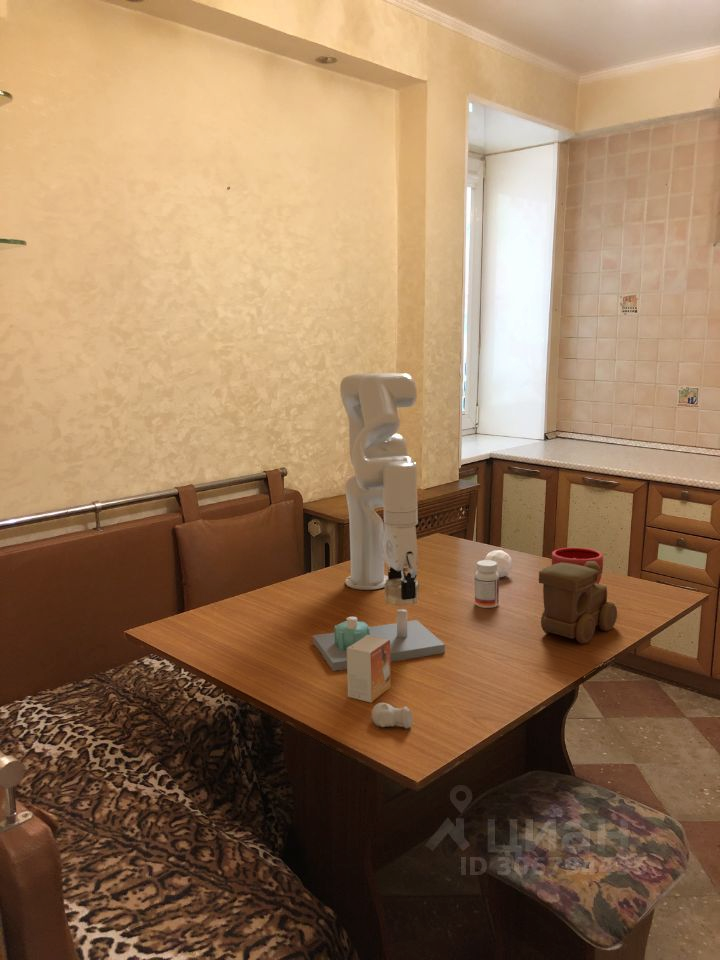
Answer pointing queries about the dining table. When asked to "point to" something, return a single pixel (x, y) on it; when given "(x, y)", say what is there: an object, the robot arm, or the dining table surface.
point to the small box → (368, 668)
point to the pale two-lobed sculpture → (391, 715)
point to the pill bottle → (486, 584)
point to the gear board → (403, 637)
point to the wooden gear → (398, 592)
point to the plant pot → (577, 557)
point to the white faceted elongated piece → (500, 562)
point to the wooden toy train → (575, 601)
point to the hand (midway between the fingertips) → (401, 592)
